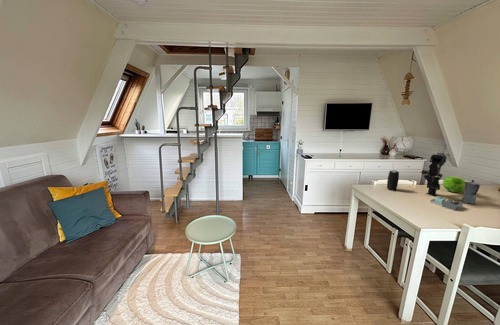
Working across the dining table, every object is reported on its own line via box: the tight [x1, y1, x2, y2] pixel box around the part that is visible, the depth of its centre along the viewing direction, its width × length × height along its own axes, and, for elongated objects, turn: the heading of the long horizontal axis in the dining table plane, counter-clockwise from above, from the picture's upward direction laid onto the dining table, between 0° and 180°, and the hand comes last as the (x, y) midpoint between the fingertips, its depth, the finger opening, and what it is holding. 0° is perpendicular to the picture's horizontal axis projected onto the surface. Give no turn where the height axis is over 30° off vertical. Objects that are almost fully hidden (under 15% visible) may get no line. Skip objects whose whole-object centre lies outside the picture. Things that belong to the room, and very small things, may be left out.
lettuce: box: [442, 176, 466, 193], centre depth 201 cm, size 17×20×15 cm
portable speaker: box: [386, 170, 400, 191], centre depth 205 cm, size 9×9×20 cm
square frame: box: [429, 198, 464, 211], centre depth 168 cm, size 12×17×6 cm
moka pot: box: [460, 179, 481, 205], centre depth 172 cm, size 10×15×20 cm, turn 161°
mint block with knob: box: [434, 195, 447, 203], centre depth 172 cm, size 5×5×6 cm
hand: (431, 185), depth 184 cm, fingers open, 9 cm apart
